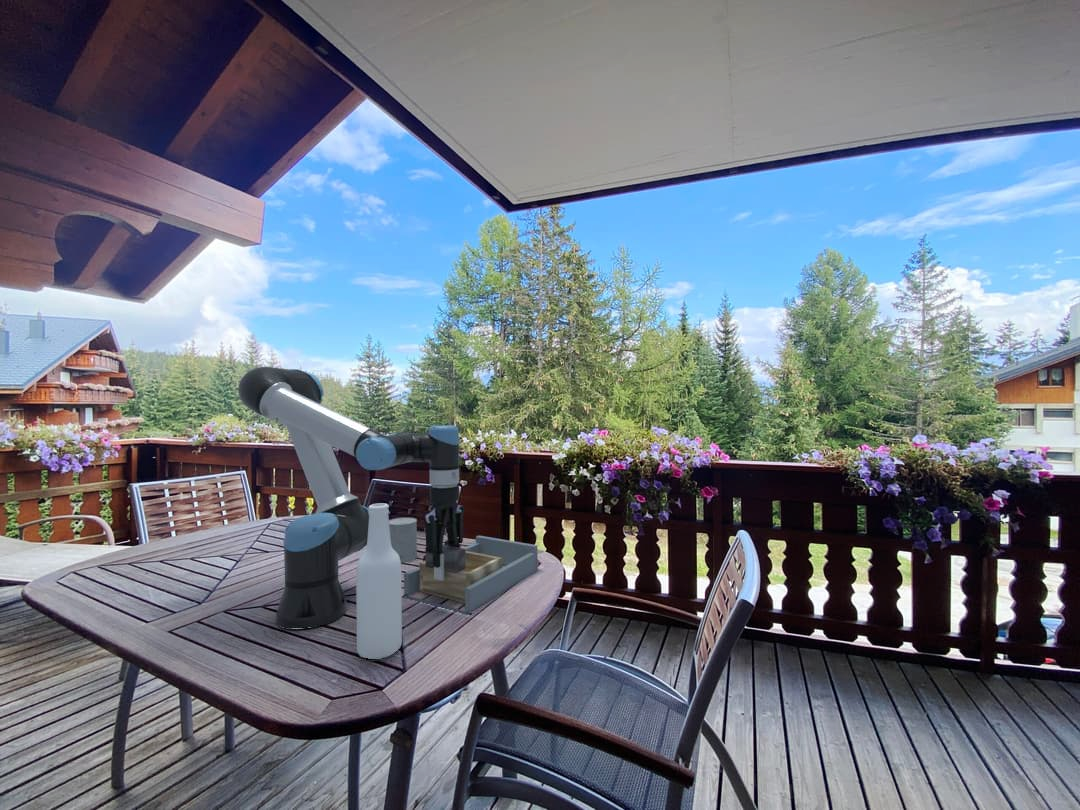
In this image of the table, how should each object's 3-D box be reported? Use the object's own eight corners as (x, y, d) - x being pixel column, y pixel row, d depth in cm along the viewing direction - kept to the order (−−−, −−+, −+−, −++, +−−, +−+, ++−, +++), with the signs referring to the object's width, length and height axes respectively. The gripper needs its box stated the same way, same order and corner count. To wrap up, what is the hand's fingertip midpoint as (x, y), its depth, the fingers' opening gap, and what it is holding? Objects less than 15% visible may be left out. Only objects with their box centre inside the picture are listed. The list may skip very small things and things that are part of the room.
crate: (466, 606, 112) (466, 555, 112) (415, 593, 121) (415, 545, 121) (502, 585, 125) (502, 539, 125) (454, 574, 134) (454, 531, 134)
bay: (470, 616, 109) (470, 581, 109) (404, 598, 120) (404, 565, 120) (537, 573, 137) (537, 545, 137) (478, 561, 148) (478, 535, 148)
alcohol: (403, 656, 92) (402, 507, 92) (355, 665, 89) (354, 511, 89) (400, 636, 100) (399, 499, 100) (357, 643, 97) (356, 502, 97)
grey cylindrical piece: (381, 561, 150) (381, 523, 150) (398, 552, 159) (398, 516, 159) (406, 563, 147) (406, 525, 147) (422, 554, 156) (422, 518, 156)
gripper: (432, 492, 109) (433, 590, 109) (476, 481, 124) (477, 568, 124) (409, 489, 113) (410, 584, 112) (454, 479, 127) (455, 563, 127)
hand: (445, 575), depth 118 cm, fingers closed on crate, 4 cm apart
